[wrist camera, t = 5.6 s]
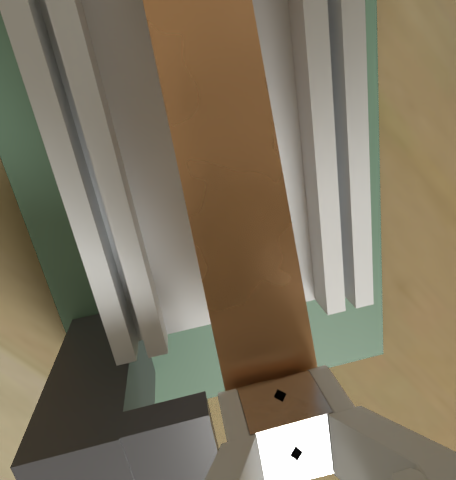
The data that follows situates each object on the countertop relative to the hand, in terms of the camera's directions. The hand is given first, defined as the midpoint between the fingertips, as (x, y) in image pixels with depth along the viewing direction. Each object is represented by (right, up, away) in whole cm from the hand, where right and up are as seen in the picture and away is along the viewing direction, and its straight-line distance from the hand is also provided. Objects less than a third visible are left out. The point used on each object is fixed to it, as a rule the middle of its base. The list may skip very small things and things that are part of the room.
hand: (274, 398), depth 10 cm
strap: (-1, +6, +1) cm, 6 cm away
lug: (-5, -1, +9) cm, 10 cm away
